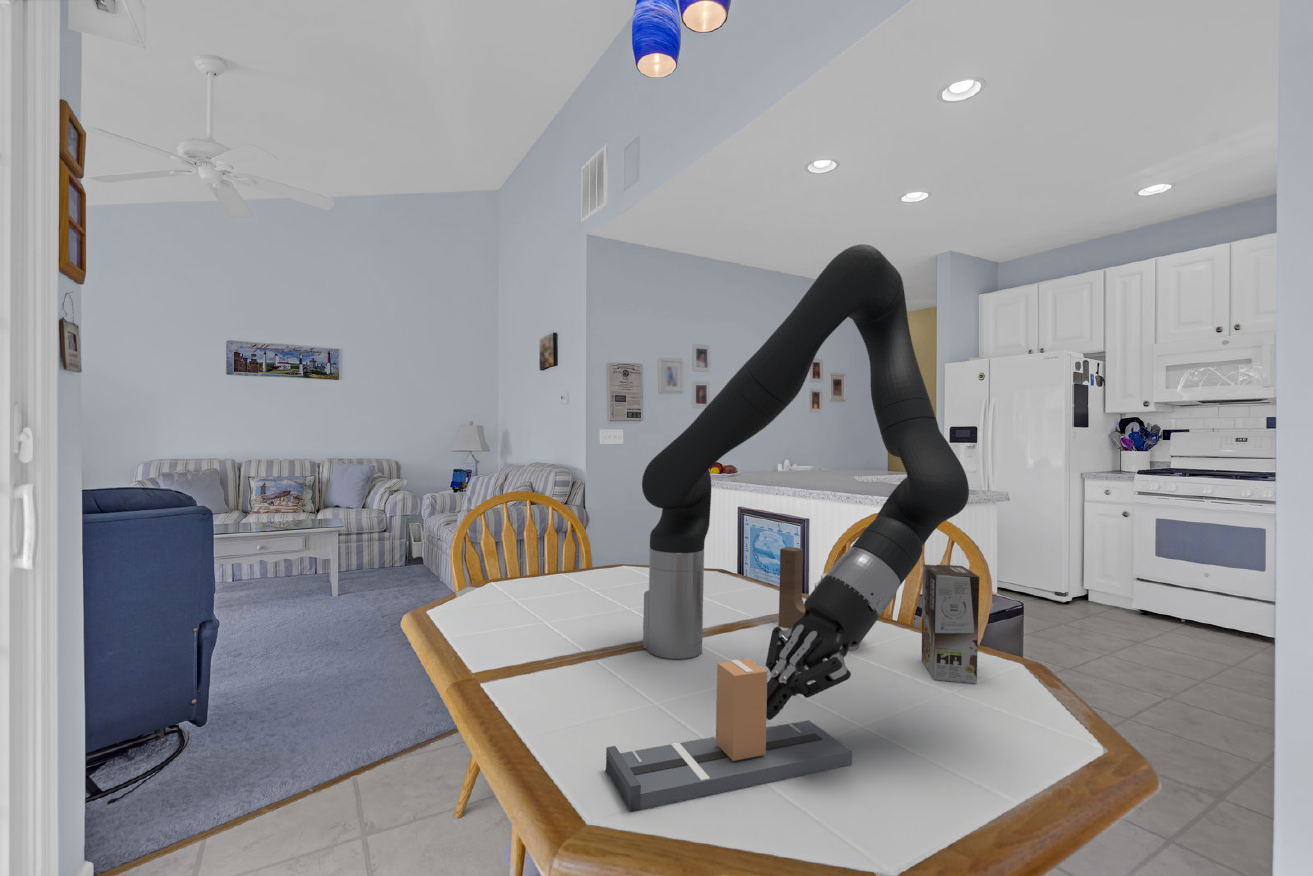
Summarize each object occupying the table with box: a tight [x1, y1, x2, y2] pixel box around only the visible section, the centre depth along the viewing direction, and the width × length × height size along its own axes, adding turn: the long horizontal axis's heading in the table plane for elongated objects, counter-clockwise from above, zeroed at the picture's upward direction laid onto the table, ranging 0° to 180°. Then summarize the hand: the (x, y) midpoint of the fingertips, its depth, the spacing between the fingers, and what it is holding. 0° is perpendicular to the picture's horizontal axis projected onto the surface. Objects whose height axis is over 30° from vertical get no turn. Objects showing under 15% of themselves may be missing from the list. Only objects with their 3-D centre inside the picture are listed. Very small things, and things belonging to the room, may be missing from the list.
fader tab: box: [715, 658, 768, 761], centre depth 68 cm, size 4×4×9 cm
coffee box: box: [921, 564, 980, 684], centre depth 98 cm, size 9×6×16 cm
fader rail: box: [605, 719, 853, 813], centre depth 68 cm, size 26×8×2 cm, turn 112°
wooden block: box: [778, 546, 805, 629], centre depth 119 cm, size 7×3×15 cm, turn 48°
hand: (761, 713), depth 69 cm, fingers closed
